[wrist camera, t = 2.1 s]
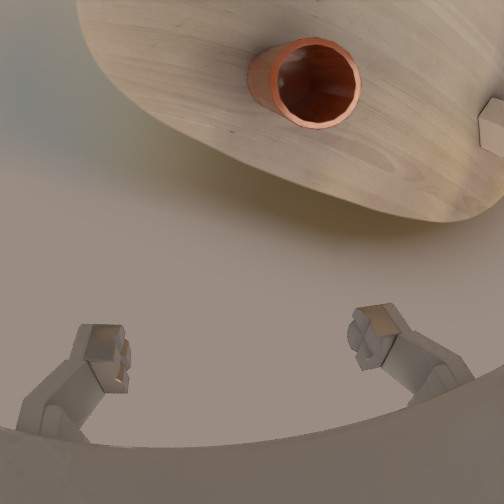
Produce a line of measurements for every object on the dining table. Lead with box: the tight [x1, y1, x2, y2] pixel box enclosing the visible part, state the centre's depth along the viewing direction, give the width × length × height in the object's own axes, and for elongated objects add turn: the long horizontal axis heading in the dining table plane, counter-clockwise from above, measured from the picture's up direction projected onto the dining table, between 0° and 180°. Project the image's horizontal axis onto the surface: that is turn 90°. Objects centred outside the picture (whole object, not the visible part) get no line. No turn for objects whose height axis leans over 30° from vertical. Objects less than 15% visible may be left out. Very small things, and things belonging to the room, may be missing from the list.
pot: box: [247, 37, 362, 130], centre depth 22 cm, size 6×6×10 cm
